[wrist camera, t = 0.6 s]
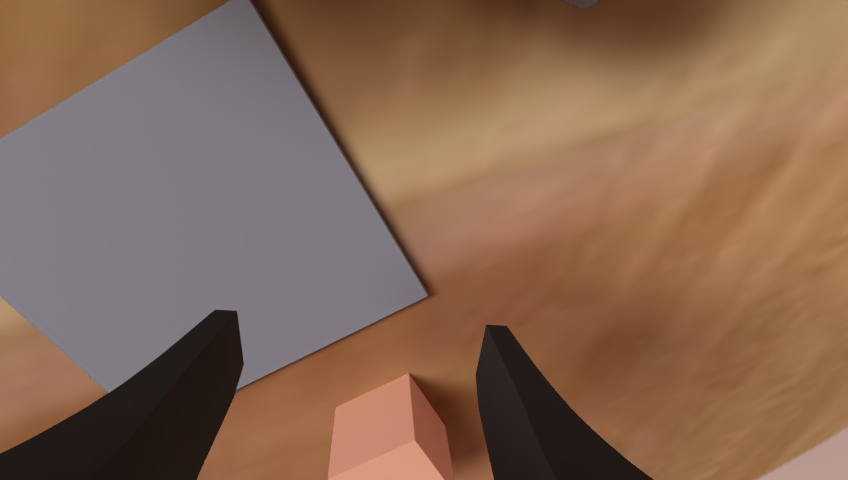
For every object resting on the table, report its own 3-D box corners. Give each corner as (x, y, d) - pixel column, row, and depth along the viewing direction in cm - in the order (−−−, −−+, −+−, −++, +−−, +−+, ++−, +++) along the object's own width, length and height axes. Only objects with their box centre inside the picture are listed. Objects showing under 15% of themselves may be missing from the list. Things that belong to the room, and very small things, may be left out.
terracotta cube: (376, 456, 30) (376, 531, 25) (335, 406, 28) (327, 479, 23) (445, 425, 29) (457, 497, 25) (408, 372, 27) (414, 440, 23)
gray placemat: (155, 424, 27) (151, 431, 26) (-94, 198, 20) (-105, 202, 20) (426, 291, 25) (427, 296, 24) (247, -8, 18) (244, -9, 18)
